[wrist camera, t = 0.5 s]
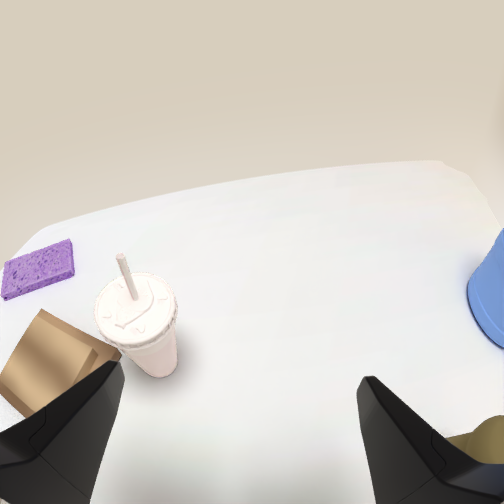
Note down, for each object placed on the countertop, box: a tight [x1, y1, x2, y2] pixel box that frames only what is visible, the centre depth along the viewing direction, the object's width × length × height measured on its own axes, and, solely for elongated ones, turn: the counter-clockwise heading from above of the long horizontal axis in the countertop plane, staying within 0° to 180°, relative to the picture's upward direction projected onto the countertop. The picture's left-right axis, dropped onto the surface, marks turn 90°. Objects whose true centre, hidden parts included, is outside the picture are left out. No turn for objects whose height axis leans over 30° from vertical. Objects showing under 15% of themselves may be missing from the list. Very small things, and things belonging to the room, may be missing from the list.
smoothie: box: [94, 253, 178, 378], centre depth 21 cm, size 6×6×14 cm
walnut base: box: [0, 309, 121, 418], centre depth 21 cm, size 12×12×3 cm
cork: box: [445, 415, 504, 464], centre depth 13 cm, size 6×6×11 cm
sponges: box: [1, 239, 75, 301], centre depth 31 cm, size 7×13×2 cm, turn 119°
